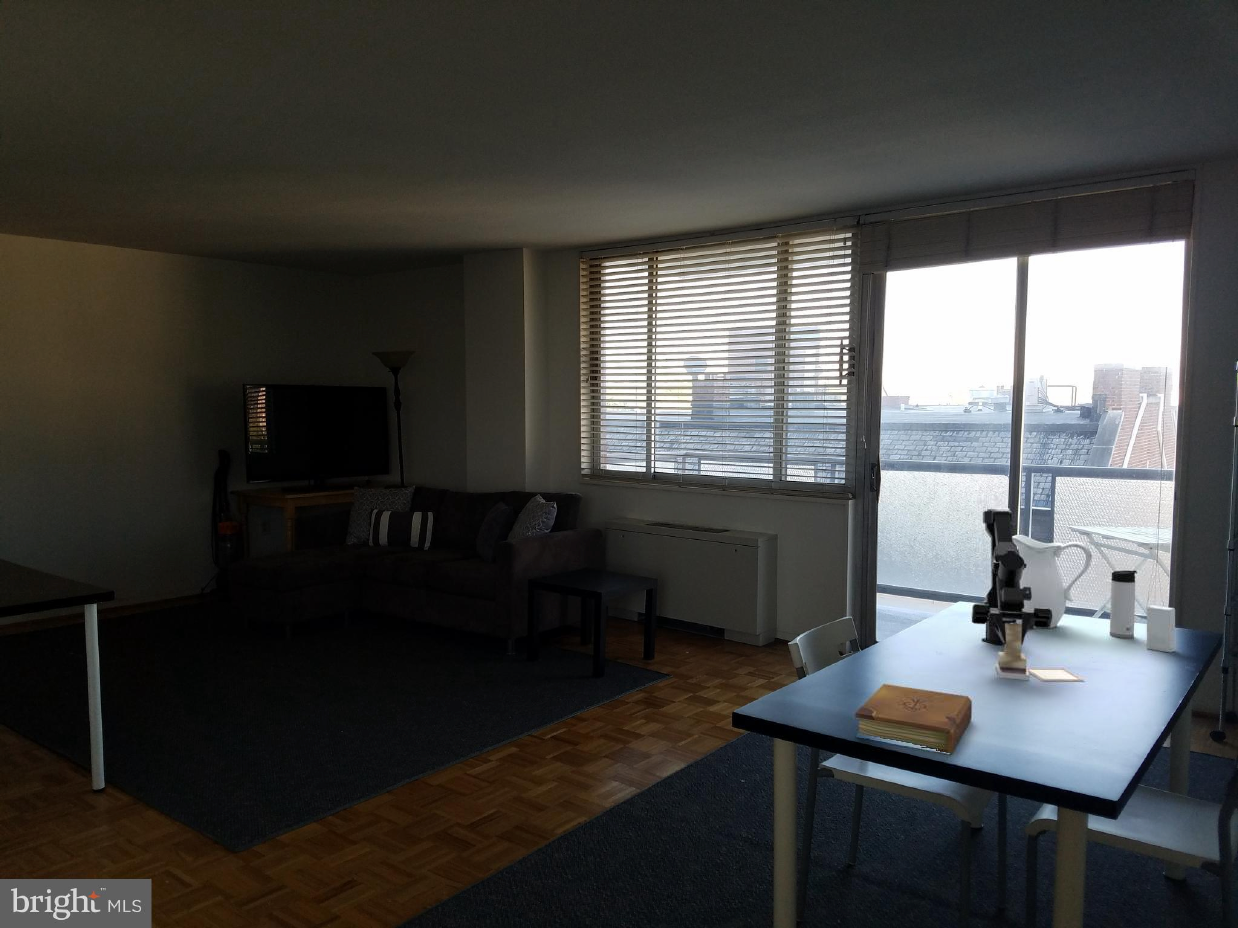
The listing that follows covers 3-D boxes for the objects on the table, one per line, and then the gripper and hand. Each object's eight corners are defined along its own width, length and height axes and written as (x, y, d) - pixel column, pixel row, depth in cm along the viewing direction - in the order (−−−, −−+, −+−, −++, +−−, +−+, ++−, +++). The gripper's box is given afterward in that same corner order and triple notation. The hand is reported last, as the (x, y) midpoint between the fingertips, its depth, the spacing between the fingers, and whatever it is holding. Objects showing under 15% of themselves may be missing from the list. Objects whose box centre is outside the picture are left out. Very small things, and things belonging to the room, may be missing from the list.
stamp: (1000, 669, 220) (1001, 626, 219) (998, 663, 225) (999, 622, 224) (1026, 671, 218) (1027, 628, 218) (1023, 665, 223) (1024, 623, 222)
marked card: (1023, 669, 226) (1023, 667, 226) (1063, 669, 226) (1063, 667, 226) (1042, 681, 215) (1042, 679, 215) (1084, 681, 215) (1084, 679, 215)
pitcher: (998, 624, 276) (1000, 537, 274) (1017, 616, 288) (1018, 532, 287) (1081, 637, 259) (1083, 544, 258) (1096, 627, 272) (1099, 539, 270)
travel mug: (1134, 639, 257) (1136, 572, 256) (1109, 636, 260) (1111, 570, 259) (1135, 635, 262) (1137, 569, 261) (1110, 632, 266) (1112, 567, 265)
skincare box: (1175, 650, 245) (1176, 607, 244) (1169, 653, 242) (1170, 610, 241) (1151, 646, 249) (1152, 604, 249) (1145, 648, 247) (1146, 606, 246)
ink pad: (995, 667, 227) (995, 662, 227) (1024, 670, 225) (1024, 664, 225) (999, 677, 218) (999, 671, 218) (1029, 679, 216) (1029, 674, 216)
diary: (951, 758, 167) (952, 729, 167) (855, 740, 177) (855, 712, 177) (971, 722, 187) (971, 695, 187) (883, 707, 197) (883, 682, 196)
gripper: (973, 572, 227) (975, 623, 217) (1052, 576, 221) (1058, 629, 211) (970, 597, 235) (972, 647, 225) (1046, 601, 229) (1052, 653, 219)
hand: (1013, 643), depth 220 cm, fingers closed on stamp, 3 cm apart
